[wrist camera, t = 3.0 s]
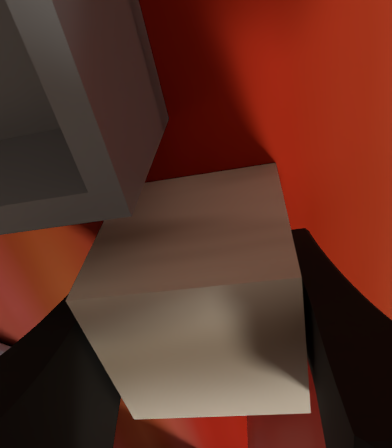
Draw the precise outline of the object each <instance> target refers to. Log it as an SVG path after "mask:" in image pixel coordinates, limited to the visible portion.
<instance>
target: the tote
mask: <svg viewBox="0 0 392 448" xmlns="http://www.w3.org/2000/svg"><path fill="white" fill-rule="evenodd" d="M168 120H169V117H168V113H167V109H166V105H165V101H164V97H163V94H162V90H161V86H160V82H159V78H158V74H157V70H156V66H155V62H154V58H153V55H152V51H151V47H150V43H149V39H148V35H147V31H146V27H145V23H144V19H143V16H142V12H141V8H140V4H139V0H0V235H2V234H9V233H16V232H23V231H31V230H38V229H45V228H52V227H59V226H67V225H74V224H81V223H88V222H96V221H103V220H110V219H117V218H125V217H132V214H133V212H134V209H135V206H136V204H137V201H138V199H139V196H140V193H141V191H142V188H143V186H144V183H145V180H146V178H147V175H148V172H149V170H150V167H151V165H152V162H153V159H154V157H155V154H156V152H157V149H158V146H159V144H160V141H161V138H162V136H163V133H164V131H165V128H166V125H167V123H168Z"/></svg>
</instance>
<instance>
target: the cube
mask: <svg viewBox="0 0 392 448" xmlns="http://www.w3.org/2000/svg"><path fill="white" fill-rule="evenodd" d="M66 302H67V304H68V306H69V308H70V309H71V311H72V313H73V315H74V316H75V318H76V320H77V321H78V323H79V325H80V327H81V328H82V330H83V332H84V334H85V335H86V337H87V339H88V340H89V342H90V344H91V346H92V347H93V349H94V351H95V353H96V354H97V356H98V358H99V359H100V361H101V363H102V365H103V366H104V368H105V370H106V372H107V373H108V375H109V377H110V378H111V380H112V382H113V384H114V385H115V387H116V389H117V391H118V392H119V394H120V396H121V398H122V399H123V401H124V403H125V404H126V406H127V408H128V410H129V411H130V413H131V415H132V417H133V418H134V419H160V418H189V417H218V416H246V415H275V414H304V413H311V408H310V393H309V378H308V363H307V349H306V334H305V319H304V304H303V289H302V277H301V272H300V268H299V263H298V259H297V255H296V250H295V246H294V241H293V237H292V232H291V228H290V224H289V219H288V215H287V210H286V206H285V201H284V197H283V193H282V188H281V184H280V179H279V175H278V170H277V166H276V163H271V164H264V165H258V166H251V167H245V168H238V169H232V170H225V171H219V172H212V173H206V174H199V175H193V176H186V177H180V178H173V179H167V180H160V181H154V182H147V183H144V186H143V188H142V191H141V193H140V196H139V199H138V201H137V204H136V206H135V209H134V212H133V214H132V217H125V218H117V219H110V220H104V222H103V224H102V226H101V228H100V230H99V232H98V234H97V236H96V238H95V241H94V243H93V245H92V247H91V249H90V251H89V253H88V255H87V257H86V259H85V261H84V263H83V265H82V268H81V270H80V272H79V274H78V276H77V278H76V280H75V282H74V284H73V286H72V288H71V290H70V292H69V295H68V297H67V299H66Z"/></svg>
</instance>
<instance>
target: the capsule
mask: <svg viewBox="0 0 392 448" xmlns="http://www.w3.org/2000/svg"><path fill="white" fill-rule="evenodd" d="M307 363H308V359H307ZM308 378H309V393H310V408H311V413H304V414H275V415H247V433H248V448H326V445H325V440H324V434H323V428H322V423H321V417H320V412H319V406H318V401H317V395H316V390H315V386H314V382H313V378H312V374H311V370H310V366H309V363H308Z"/></svg>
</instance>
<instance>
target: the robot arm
mask: <svg viewBox="0 0 392 448" xmlns="http://www.w3.org/2000/svg"><path fill="white" fill-rule="evenodd" d="M291 232H292V237H293V241H294V246H295V250H296V255H297V259H298V263H299V268H300V272H301V277H302V289H303V304H304V319H305V334H306V349H307V359H308V363H309V366H310V370H311V374H312V378H313V382H314V386H315V390H316V395H317V401H318V406H319V412H320V417H321V423H322V428H323V434H324V440H325V445H326V448H392V320H391V319H389V318H388V317H387V316H386V315H385V314H383V313H382V312H381V311H380V310H379V309H378V308H376V307H375V306H374V305H373V304H372V303H371V302H370V301H369V300H368V299H367V298H365V297H364V296H363V295H362V294H361V293H360V292H359V291H358V290H357V289H356V288H355V287H354V286H353V285H352V284H351V283H350V282H349V281H348V280H347V279H346V278H345V277H344V275H343V274H342V273H341V272H340V271H339V270H338V269H337V268H336V266H335V265H334V264H333V263H332V262H331V261H330V260H329V258H328V257H327V256H326V255H325V253H324V252H323V251H322V250H321V248H320V247H319V246H318V244H317V243H316V241H315V240H314V238H313V237H312V235H311V234H310V232H309V231H308V230H307V229H305V228H303V229H295V230H291ZM68 295H69V294H68ZM68 295H67V296H66V297H65V298H64V299H63V300H62V301H61V302H60V303H59V304H58V305H57V306H56V307H55V308H54V309H53V310H52V311H51V312H50V313H49V314H48V315H47V316H46V317H45V318H44V319H43V320H42V321H41V322H40V323H39V324H37V325H36V326H35V327H34V328H33V329H32V330H31V331H30V332H28V333H27V334H26V335H25V336H24V337H22V338H21V339H20V340H19V341H18V342H17V343H15V344H14V345H13V346H12V347H10V346H7V345H5V344H2V343H0V448H113V444H114V437H115V430H116V424H117V417H118V411H119V405H120V399H121V396H120V394H119V392H118V391H117V389H116V387H115V385H114V384H113V382H112V380H111V378H110V377H109V375H108V373H107V372H106V370H105V368H104V366H103V365H102V363H101V361H100V359H99V358H98V356H97V354H96V353H95V351H94V349H93V347H92V346H91V344H90V342H89V340H88V339H87V337H86V335H85V334H84V332H83V330H82V328H81V327H80V325H79V323H78V321H77V320H76V318H75V316H74V315H73V313H72V311H71V309H70V308H69V306H68V304H67V302H66V299H67V297H68Z"/></svg>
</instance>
